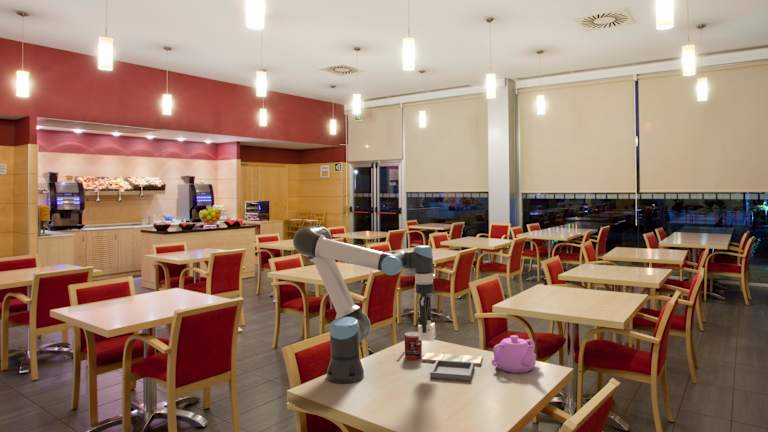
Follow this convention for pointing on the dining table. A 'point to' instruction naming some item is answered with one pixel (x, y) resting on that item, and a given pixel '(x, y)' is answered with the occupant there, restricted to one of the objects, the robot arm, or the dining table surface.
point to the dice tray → (452, 370)
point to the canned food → (413, 346)
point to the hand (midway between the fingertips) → (426, 337)
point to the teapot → (514, 355)
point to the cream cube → (430, 332)
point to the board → (449, 358)
